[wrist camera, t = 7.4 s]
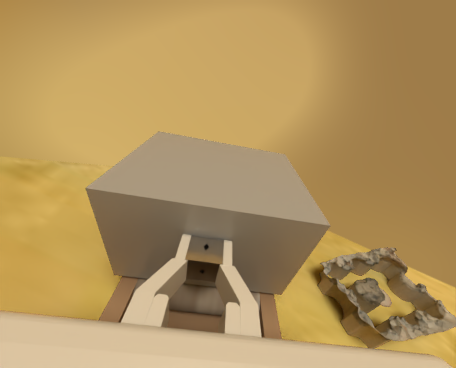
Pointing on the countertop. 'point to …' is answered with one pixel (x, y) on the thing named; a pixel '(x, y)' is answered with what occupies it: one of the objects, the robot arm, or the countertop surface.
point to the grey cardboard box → (206, 209)
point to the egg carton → (382, 298)
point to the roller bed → (191, 317)
